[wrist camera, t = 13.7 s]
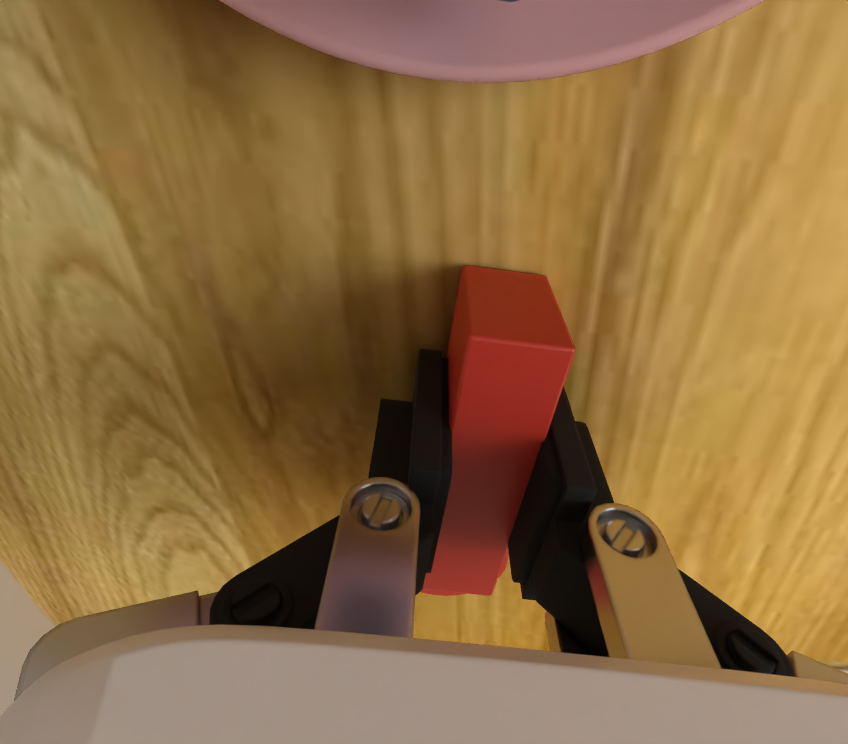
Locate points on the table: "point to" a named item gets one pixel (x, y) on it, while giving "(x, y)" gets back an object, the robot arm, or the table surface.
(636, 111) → the table surface
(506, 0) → the blue spoon
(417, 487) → the robot arm
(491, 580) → the red spoon
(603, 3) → the plate
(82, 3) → the table surface
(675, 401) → the table surface
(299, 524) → the table surface
